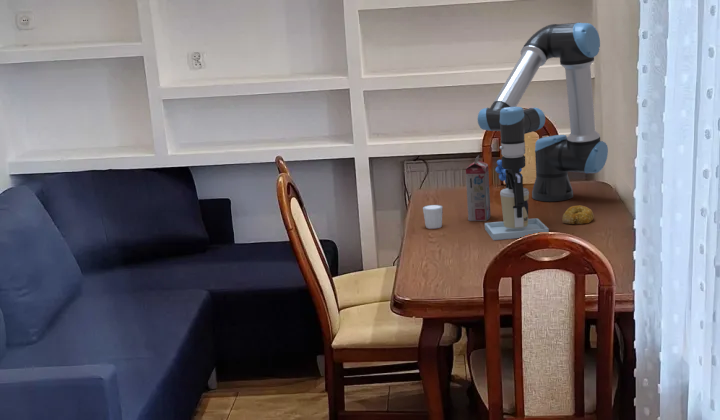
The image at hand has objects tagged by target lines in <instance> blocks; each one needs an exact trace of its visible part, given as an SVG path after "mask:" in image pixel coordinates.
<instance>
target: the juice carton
mask: <svg viewBox="0 0 720 420" xmlns="http://www.w3.org/2000/svg"><path fill="white" fill-rule="evenodd" d="M489 173H490V172H489V164H488V163H486V162H484V161H482V160H481V159H480V155H477V156H476V158H475V159H474V161H473V162H472V163H470V164H469V165H468V166H467V167H466V168H465V177H466V178H465V179H466V181H465V182H466V199H467V218H468V219H467V220H468V221H469V222H476V221H478V222H488V220H490V218H491V196H490V195H491V193H490V174H489Z"/></svg>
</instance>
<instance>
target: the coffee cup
mask: <svg viewBox="0 0 720 420" xmlns="http://www.w3.org/2000/svg"><path fill="white" fill-rule="evenodd" d="M523 192H524V204H525V206H524V207H523V225H524V227H515V220H514V208H513V206H515V203H514V193H513V189H508V188H506V187H505V188H503V189H501V190H500V193H499V194H500V202H501V212H502V219H503V222H504V227H505V228H509V229H521V228H525V227H527V226H528V219H529V205H530V204H529V203H530V202H529V197H530V191H529V189H528V188H526V187H523Z"/></svg>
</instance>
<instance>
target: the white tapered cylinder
mask: <svg viewBox="0 0 720 420" xmlns="http://www.w3.org/2000/svg"><path fill="white" fill-rule="evenodd" d="M422 212H423V218H424V219H423V220H424V224H425V228H427V229H430V230H431V229H434V230H435V229H440V228H441V227H442V226H443V205H440V204H430V205H429V204H428V205H425V206H423V207H422Z"/></svg>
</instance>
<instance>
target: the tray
mask: <svg viewBox="0 0 720 420" xmlns="http://www.w3.org/2000/svg"><path fill="white" fill-rule="evenodd" d="M484 230H485V231H486V233H487V234H488V235H489V236H490V238H491V239H492V240H493V241H500V240H502V241H503V240H510V239H511V240H512V239H520V237H523V236H525V235H528V234H533V233H538V232H549V233H550V229H549V227H547V225H546V224H544V223H543V222H542V221H541V220H540V219H539V218H528V226H527V227H525V228H521V229H509V228H505V227H504V222H503V221H493V222H484ZM523 238H524V237H523Z"/></svg>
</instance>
